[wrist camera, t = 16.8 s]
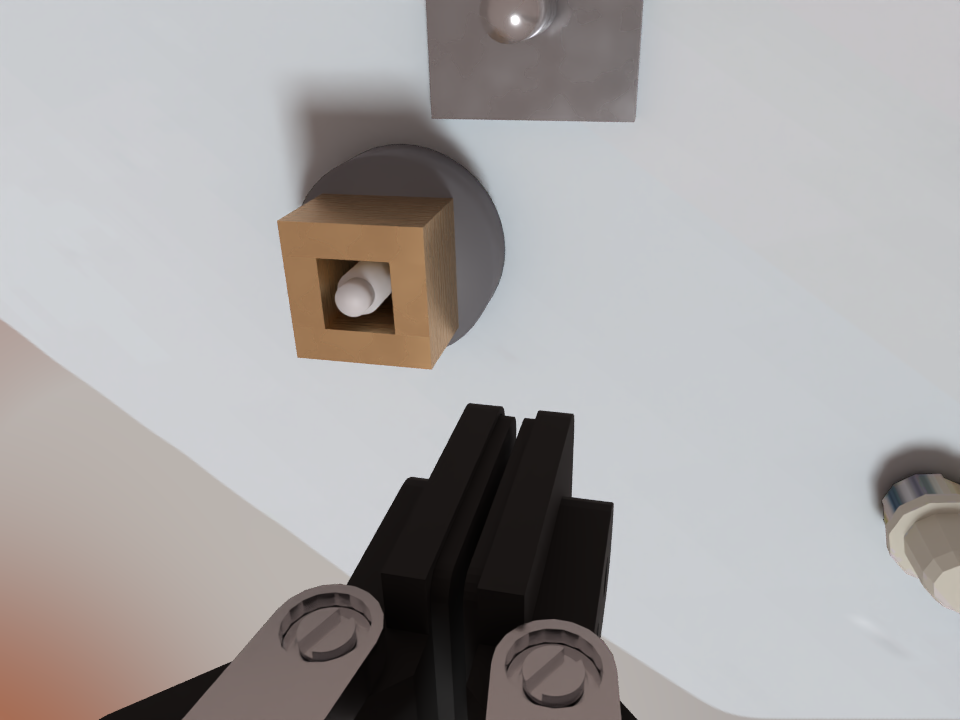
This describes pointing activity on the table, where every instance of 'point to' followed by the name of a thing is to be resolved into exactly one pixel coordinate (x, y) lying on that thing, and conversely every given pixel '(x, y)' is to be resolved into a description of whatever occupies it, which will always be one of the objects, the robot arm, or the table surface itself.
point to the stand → (534, 59)
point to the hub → (422, 177)
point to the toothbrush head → (926, 533)
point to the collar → (380, 238)
